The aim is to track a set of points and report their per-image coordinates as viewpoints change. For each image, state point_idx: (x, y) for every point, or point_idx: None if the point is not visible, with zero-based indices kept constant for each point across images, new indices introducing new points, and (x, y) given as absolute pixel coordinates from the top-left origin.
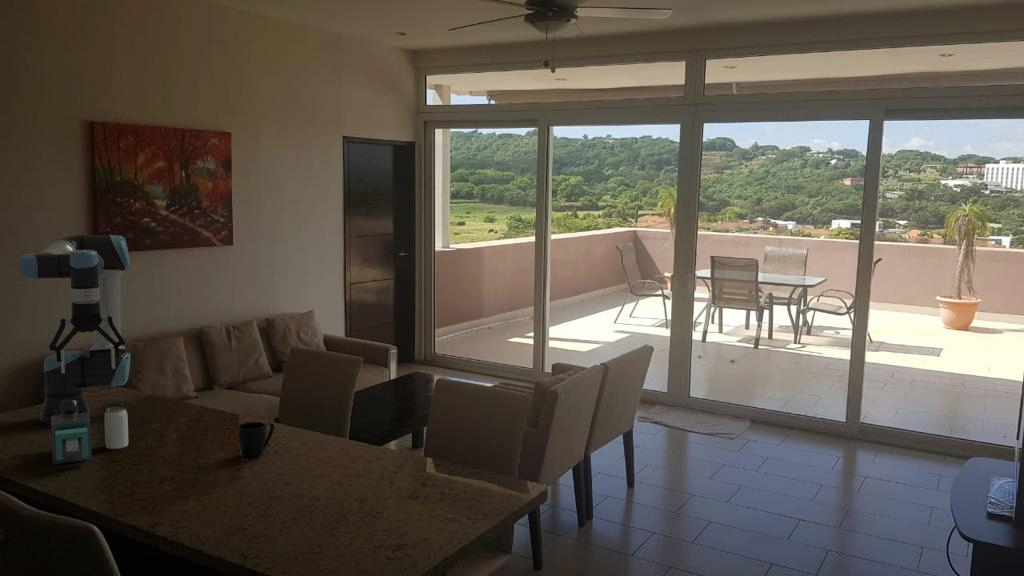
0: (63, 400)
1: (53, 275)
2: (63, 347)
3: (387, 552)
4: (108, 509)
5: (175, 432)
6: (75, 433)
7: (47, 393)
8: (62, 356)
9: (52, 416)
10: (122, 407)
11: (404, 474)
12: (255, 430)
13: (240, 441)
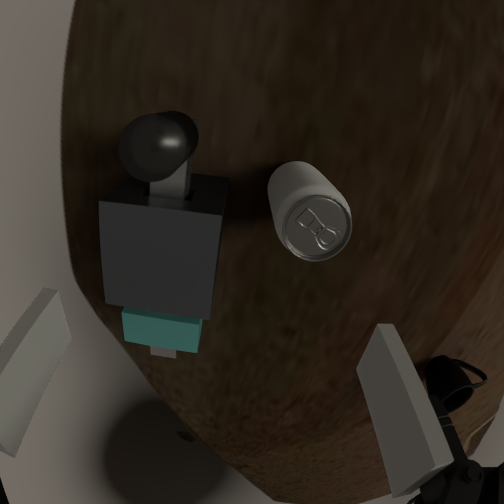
0: (128, 137)
1: None
2: (1, 485)
3: (344, 501)
4: (209, 436)
5: (442, 160)
6: (169, 346)
7: None
8: (17, 425)
9: (102, 212)
10: (347, 212)
11: None
12: None
13: (429, 392)
